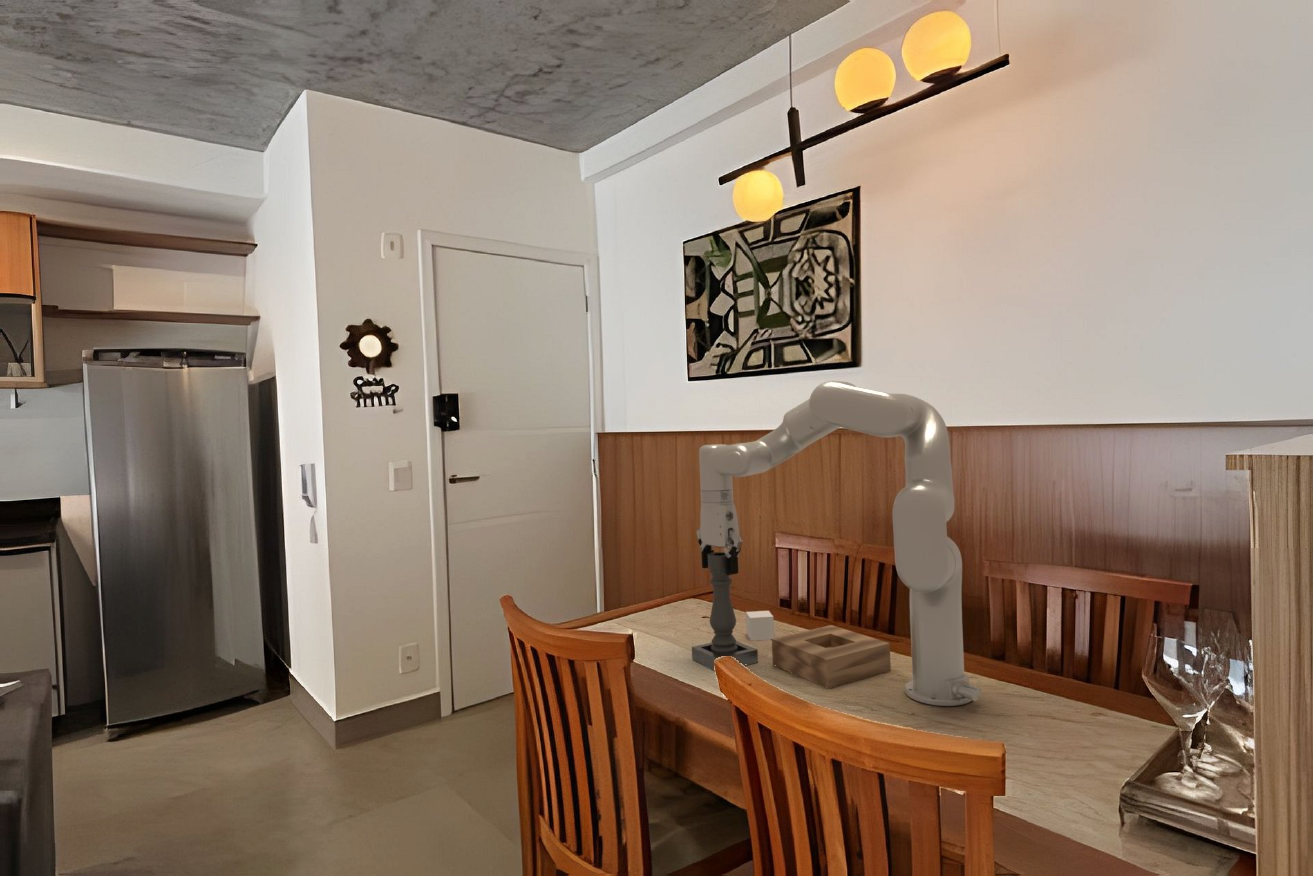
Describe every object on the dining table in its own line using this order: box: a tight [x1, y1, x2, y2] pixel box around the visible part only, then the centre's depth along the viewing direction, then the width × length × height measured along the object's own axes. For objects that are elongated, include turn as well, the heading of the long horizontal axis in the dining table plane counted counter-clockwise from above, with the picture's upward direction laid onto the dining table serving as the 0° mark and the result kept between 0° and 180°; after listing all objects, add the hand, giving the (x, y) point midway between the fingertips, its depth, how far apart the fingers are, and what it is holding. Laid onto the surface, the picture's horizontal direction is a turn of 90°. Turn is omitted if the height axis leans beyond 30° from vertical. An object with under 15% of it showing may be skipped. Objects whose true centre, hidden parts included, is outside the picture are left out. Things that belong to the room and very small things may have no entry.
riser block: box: [771, 624, 892, 689], centre depth 158 cm, size 18×18×6 cm
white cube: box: [745, 610, 775, 642], centre depth 184 cm, size 6×6×6 cm
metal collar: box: [691, 640, 759, 671], centre depth 166 cm, size 11×11×3 cm
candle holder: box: [707, 551, 738, 656], centre depth 166 cm, size 6×6×25 cm
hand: (719, 570), depth 166 cm, fingers open, 9 cm apart
